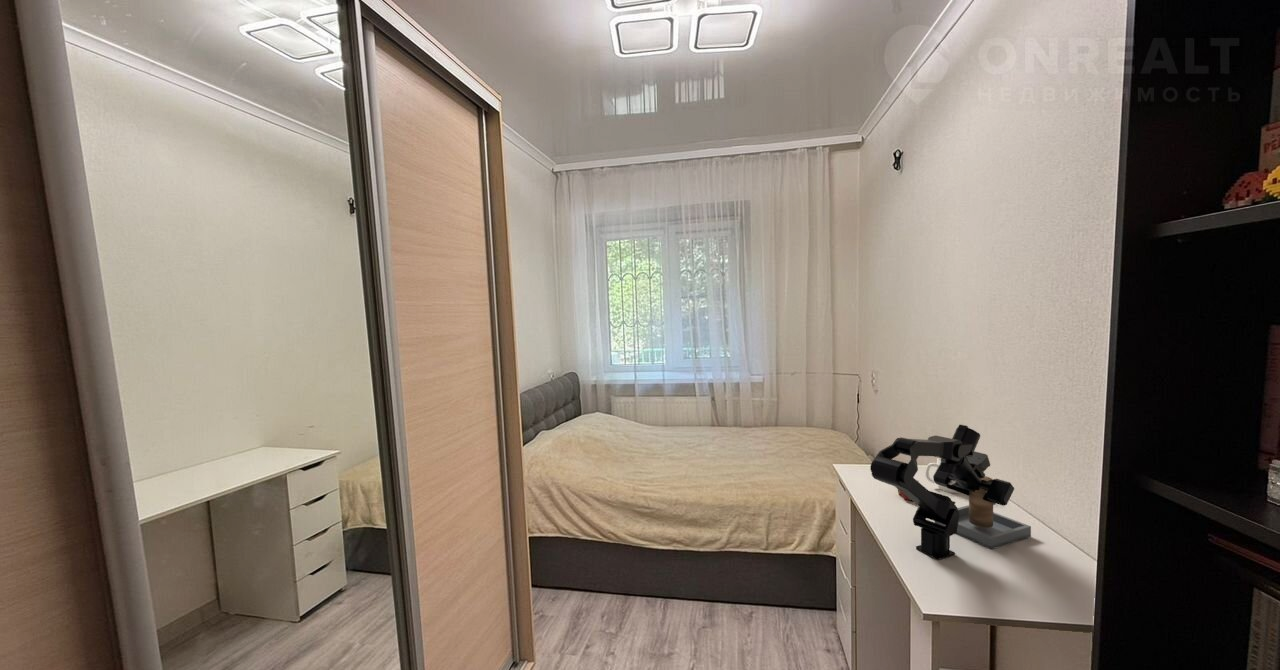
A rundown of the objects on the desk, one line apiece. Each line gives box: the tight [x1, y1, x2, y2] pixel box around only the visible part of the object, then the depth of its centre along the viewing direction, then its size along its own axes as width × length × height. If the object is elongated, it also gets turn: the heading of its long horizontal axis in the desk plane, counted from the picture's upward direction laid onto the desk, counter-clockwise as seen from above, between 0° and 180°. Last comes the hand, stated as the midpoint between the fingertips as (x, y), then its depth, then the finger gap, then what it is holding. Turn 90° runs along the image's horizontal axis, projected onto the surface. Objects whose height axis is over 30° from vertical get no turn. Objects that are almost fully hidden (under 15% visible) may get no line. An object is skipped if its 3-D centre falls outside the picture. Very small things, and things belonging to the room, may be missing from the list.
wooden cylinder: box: [968, 475, 994, 527], centre depth 133 cm, size 6×6×13 cm
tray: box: [934, 504, 1032, 550], centre depth 133 cm, size 16×16×3 cm
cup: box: [925, 457, 960, 494], centre depth 163 cm, size 8×12×10 cm
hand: (983, 499), depth 133 cm, fingers closed on wooden cylinder, 6 cm apart
